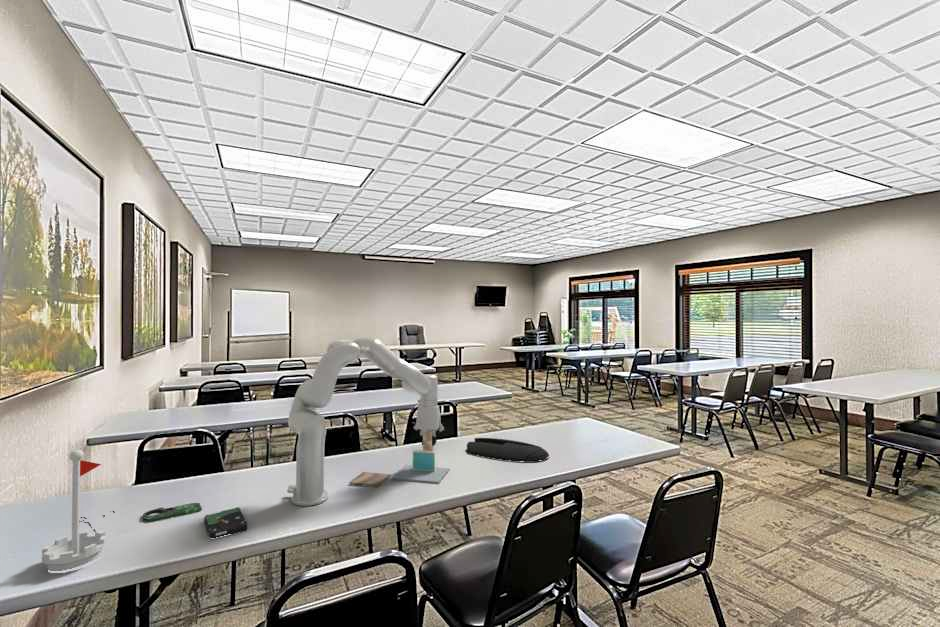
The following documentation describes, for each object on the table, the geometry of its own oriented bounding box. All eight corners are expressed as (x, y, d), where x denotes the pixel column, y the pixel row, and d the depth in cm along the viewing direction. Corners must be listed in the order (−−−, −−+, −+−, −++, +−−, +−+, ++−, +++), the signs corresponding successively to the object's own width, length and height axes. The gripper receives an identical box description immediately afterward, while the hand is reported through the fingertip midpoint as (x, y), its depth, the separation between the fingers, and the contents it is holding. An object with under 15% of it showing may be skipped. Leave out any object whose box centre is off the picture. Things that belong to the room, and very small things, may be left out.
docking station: (539, 467, 197) (539, 456, 197) (459, 454, 216) (459, 444, 216) (555, 452, 219) (555, 442, 219) (481, 442, 238) (481, 432, 238)
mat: (391, 479, 181) (391, 477, 181) (405, 466, 197) (405, 464, 197) (438, 483, 177) (438, 481, 177) (449, 470, 192) (449, 468, 192)
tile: (412, 469, 190) (412, 450, 190) (414, 468, 193) (414, 449, 193) (434, 471, 188) (434, 452, 188) (436, 469, 190) (436, 451, 190)
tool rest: (349, 484, 175) (349, 482, 175) (363, 474, 187) (363, 471, 187) (377, 487, 173) (377, 484, 173) (389, 476, 184) (389, 474, 184)
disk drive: (248, 532, 138) (238, 514, 149) (248, 523, 138) (238, 506, 149) (210, 542, 131) (203, 523, 143) (210, 533, 131) (203, 514, 143)
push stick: (422, 453, 195) (423, 428, 195) (425, 451, 199) (425, 426, 199) (431, 454, 194) (431, 429, 194) (434, 451, 198) (434, 426, 198)
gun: (199, 498, 159) (201, 508, 151) (199, 502, 159) (201, 512, 151) (143, 510, 150) (142, 521, 141) (143, 514, 150) (142, 525, 141)
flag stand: (44, 582, 110) (45, 461, 111) (39, 562, 119) (40, 450, 119) (110, 561, 120) (112, 449, 120) (101, 544, 129) (102, 440, 129)
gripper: (408, 403, 195) (407, 445, 194) (444, 405, 191) (444, 448, 191) (413, 400, 202) (413, 441, 202) (449, 402, 198) (449, 443, 198)
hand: (428, 444), depth 196 cm, fingers closed on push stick, 4 cm apart
